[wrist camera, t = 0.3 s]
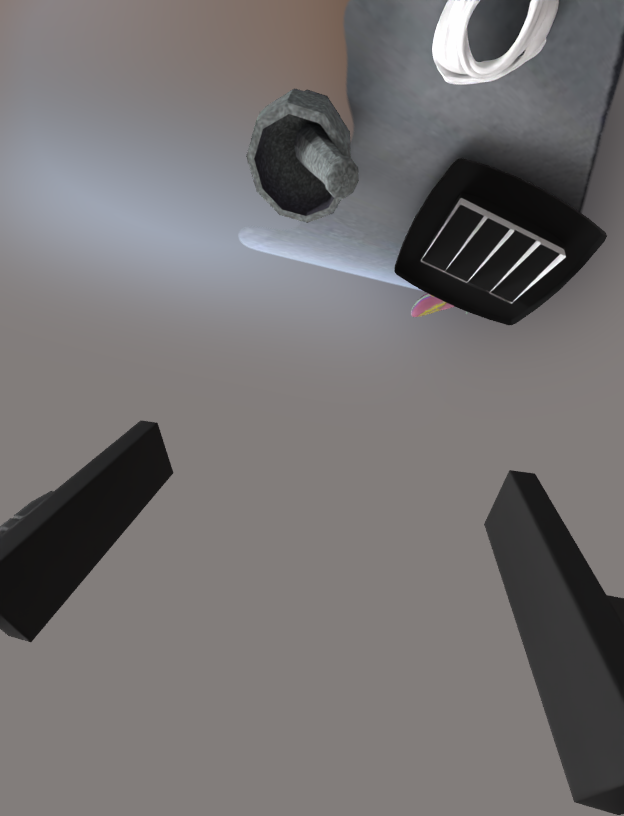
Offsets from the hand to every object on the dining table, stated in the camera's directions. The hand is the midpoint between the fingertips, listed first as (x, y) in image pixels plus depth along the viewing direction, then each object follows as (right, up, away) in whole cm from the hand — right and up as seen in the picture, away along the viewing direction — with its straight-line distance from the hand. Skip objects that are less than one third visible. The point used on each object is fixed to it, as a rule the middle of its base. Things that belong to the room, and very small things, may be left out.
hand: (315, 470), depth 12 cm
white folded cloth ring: (+13, +32, +11) cm, 36 cm away
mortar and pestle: (+1, +31, +19) cm, 36 cm away
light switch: (+19, +17, +30) cm, 39 cm away
